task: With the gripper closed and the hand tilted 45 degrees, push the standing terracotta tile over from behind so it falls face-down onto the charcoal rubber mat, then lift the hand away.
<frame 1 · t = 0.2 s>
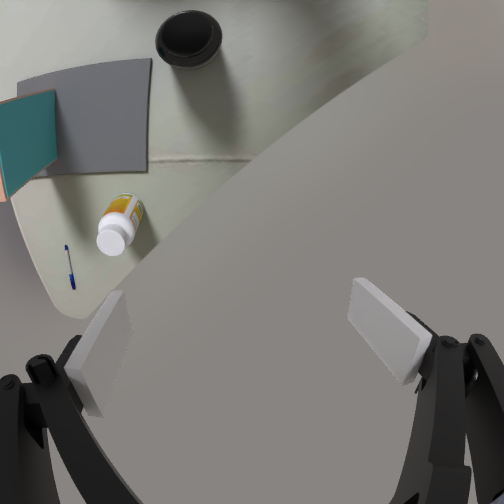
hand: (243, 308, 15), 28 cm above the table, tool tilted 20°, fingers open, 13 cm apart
ballpoint pen: (70, 266, 44), on the table
tile: (46, 125, 28), point 1 cm above the table, touching mat
mat: (75, 120, 30), on the table
supplement bottle: (192, 46, 27), on the table
supplement bottle 2: (127, 207, 39), on the table
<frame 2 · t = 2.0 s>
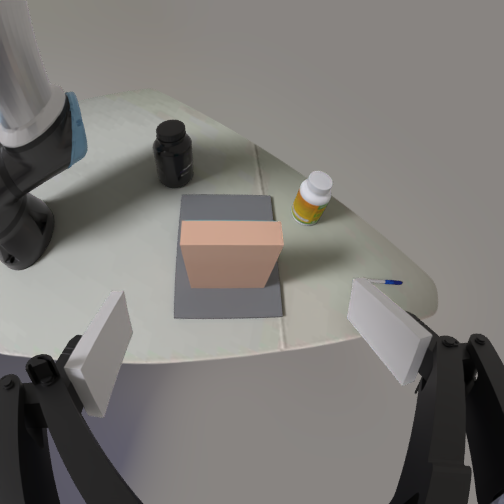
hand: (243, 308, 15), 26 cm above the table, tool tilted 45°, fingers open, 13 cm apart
ballpoint pen: (377, 282, 46), on the table
tile: (227, 278, 42), point 1 cm above the table, touching mat
mat: (226, 251, 45), on the table
supplement bottle: (176, 176, 51), on the table
supplement bottle 2: (304, 214, 50), on the table
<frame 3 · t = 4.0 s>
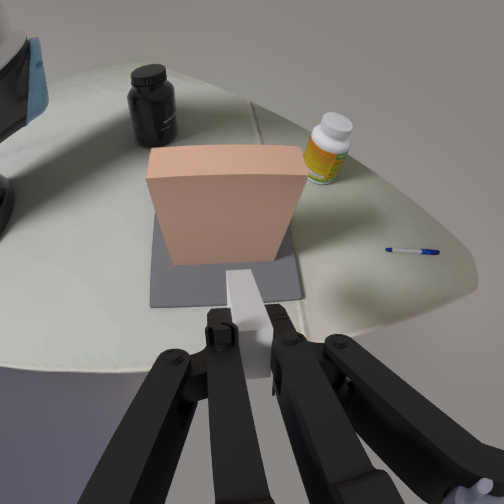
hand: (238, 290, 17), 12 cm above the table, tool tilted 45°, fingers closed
ballpoint pen: (412, 253, 35), on the table
tile: (222, 250, 31), point 1 cm above the table, touching mat
mat: (220, 216, 33), on the table
supplement bottle: (156, 136, 39), on the table
supplement bottle 2: (317, 172, 39), on the table
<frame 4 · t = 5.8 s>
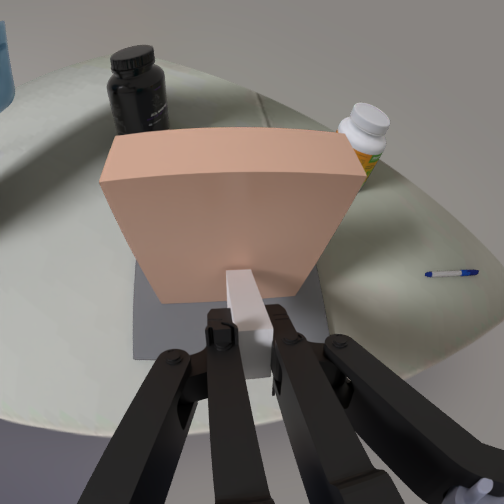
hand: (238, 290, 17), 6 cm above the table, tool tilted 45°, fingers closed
ballpoint pen: (451, 275, 27), on the table
tile: (227, 283, 23), point 1 cm above the table, touching gripper, mat
mat: (223, 235, 26), on the table
supplement bottle: (145, 133, 32), on the table
supplement bottle 2: (341, 177, 31), on the table
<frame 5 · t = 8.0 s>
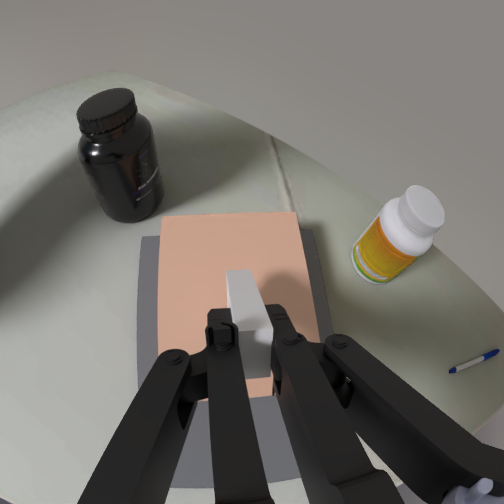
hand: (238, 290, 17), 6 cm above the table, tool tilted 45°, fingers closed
ballpoint pen: (473, 361, 22), on the table
tile: (244, 397, 17), point 2 cm above the table, tilted 90°, touching mat
mat: (237, 357, 21), on the table
supplement bottle: (134, 198, 27), on the table
supplement bottle 2: (372, 261, 26), on the table
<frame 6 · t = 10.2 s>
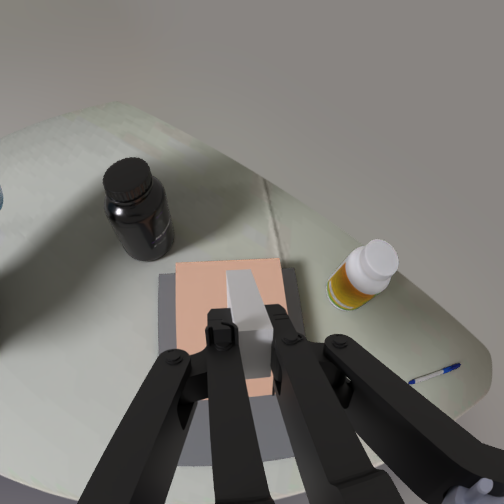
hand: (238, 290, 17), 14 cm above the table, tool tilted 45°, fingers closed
ballpoint pen: (434, 374, 29), on the table
tile: (238, 397, 24), point 2 cm above the table, tilted 90°, touching mat
mat: (234, 367, 28), on the table
supplement bottle: (149, 239, 34), on the table
supplement bottle 2: (344, 291, 33), on the table
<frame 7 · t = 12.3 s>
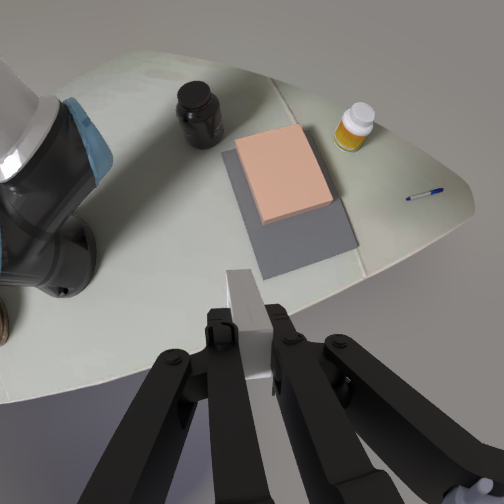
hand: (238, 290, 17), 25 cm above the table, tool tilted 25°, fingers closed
ballpoint pen: (424, 195, 45), on the table
tile: (298, 212, 41), point 2 cm above the table, tilted 90°, touching mat
mat: (288, 198, 44), on the table
supplement bottle: (205, 134, 46), on the table
supplement bottle 2: (345, 141, 46), on the table
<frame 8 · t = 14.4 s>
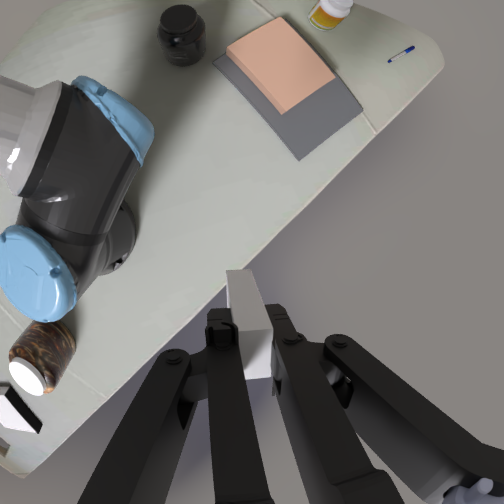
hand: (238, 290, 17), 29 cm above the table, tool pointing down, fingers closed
ballpoint pen: (400, 54, 40), on the table
tile: (309, 95, 39), point 2 cm above the table, tilted 90°, touching mat
disc drive: (10, 403, 53), on the table
mat: (292, 83, 40), on the table
supplement bottle: (185, 50, 36), on the table
jar: (54, 336, 48), on the table
supplement bottle 2: (320, 20, 36), on the table
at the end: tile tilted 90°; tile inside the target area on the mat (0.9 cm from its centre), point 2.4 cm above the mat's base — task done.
